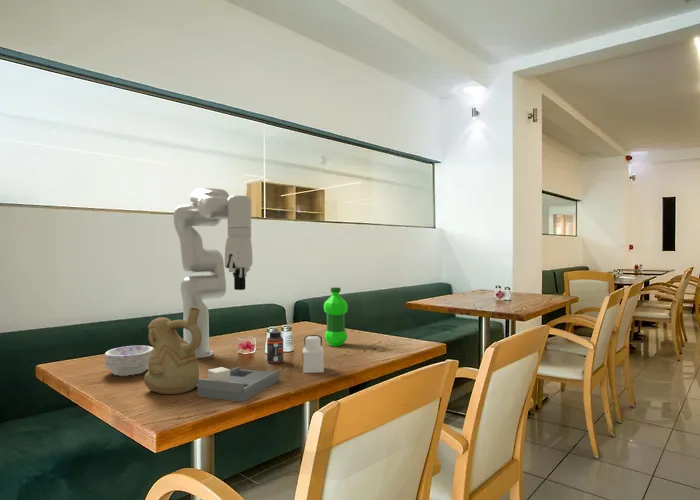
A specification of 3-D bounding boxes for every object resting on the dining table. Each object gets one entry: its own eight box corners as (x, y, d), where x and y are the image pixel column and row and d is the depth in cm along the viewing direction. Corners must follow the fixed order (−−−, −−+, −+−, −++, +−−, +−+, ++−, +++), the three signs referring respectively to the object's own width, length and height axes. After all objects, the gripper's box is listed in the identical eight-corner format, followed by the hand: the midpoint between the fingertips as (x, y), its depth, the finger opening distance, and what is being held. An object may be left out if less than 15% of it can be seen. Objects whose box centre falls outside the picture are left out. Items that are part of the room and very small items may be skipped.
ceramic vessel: (170, 378, 152) (169, 302, 152) (218, 384, 144) (218, 304, 144) (127, 393, 136) (126, 308, 136) (179, 401, 129) (178, 312, 128)
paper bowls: (106, 381, 148) (106, 357, 148) (103, 371, 161) (103, 348, 161) (157, 374, 156) (157, 351, 156) (150, 365, 169) (149, 343, 169)
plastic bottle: (333, 341, 209) (333, 286, 209) (352, 344, 203) (352, 287, 203) (319, 345, 201) (318, 288, 201) (338, 348, 195) (338, 289, 194)
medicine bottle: (303, 367, 164) (302, 334, 164) (323, 367, 164) (323, 333, 164) (302, 373, 157) (302, 338, 157) (323, 372, 157) (323, 337, 157)
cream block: (207, 385, 135) (207, 369, 135) (221, 382, 138) (221, 366, 138) (216, 388, 132) (215, 372, 132) (230, 385, 135) (230, 369, 135)
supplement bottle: (280, 364, 169) (279, 333, 169) (264, 363, 170) (264, 333, 170) (285, 360, 174) (285, 330, 174) (270, 359, 176) (270, 330, 176)
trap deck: (197, 396, 133) (197, 379, 133) (238, 376, 153) (238, 361, 153) (243, 401, 128) (242, 383, 128) (279, 380, 148) (279, 364, 148)
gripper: (241, 234, 160) (242, 287, 160) (216, 233, 145) (216, 291, 146) (261, 234, 157) (261, 287, 157) (236, 232, 143) (237, 292, 143)
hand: (239, 289), depth 151 cm, fingers closed
